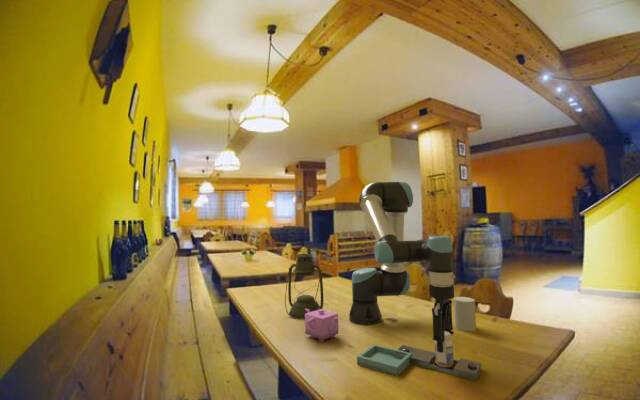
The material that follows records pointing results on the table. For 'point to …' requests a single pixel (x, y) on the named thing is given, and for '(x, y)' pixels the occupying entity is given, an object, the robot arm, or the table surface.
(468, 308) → the cup
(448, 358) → the pill bottle
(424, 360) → the mounting rail
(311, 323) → the teapot
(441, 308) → the robot arm
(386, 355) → the tray
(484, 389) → the table surface
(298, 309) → the lantern
